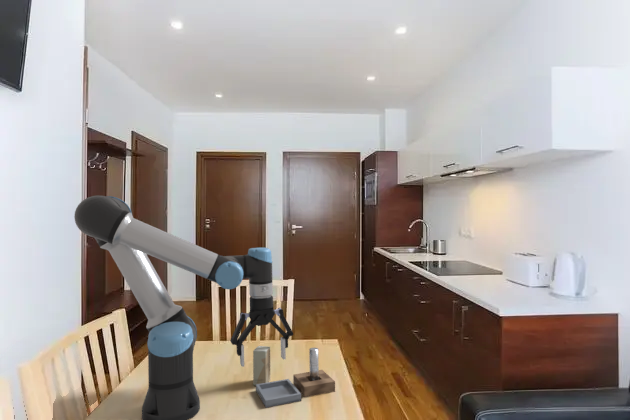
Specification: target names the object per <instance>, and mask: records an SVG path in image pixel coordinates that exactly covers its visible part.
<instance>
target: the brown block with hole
mask: <svg viewBox="0 0 630 420" xmlns="http://www.w3.org/2000/svg"><path fill="white" fill-rule="evenodd" d="M292 377H293V379H292V381H293V382H292V384H293V385H294V386H295V387H296V388H297V390H298V391H299V392H300V393H301V396H303V397H304V398H306V397H308V398H309V397H312V396H313V397H314V396H317V395H322V394H328V393H333V392H332V391H334V392H335V391H336V381H335V380H334V379H333V378H332V377H331V376H330V375H329V374H327V372H326V371H325V370H323V369H319V380H315V381H310V371H308V372H301V373H295V374H293V376H292Z"/></svg>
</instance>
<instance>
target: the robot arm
mask: <svg viewBox="0 0 630 420" xmlns="http://www.w3.org/2000/svg"><path fill="white" fill-rule="evenodd" d="M73 217H74V222H75V225H76V227H77V228H78V230H79V231H80V232H81V233H82V234H84V235H86V236H88V237H91V238H93V239H95V241H96V243H97V245H98V246H99V248H100V249H103V250H106V251H108V252H109V254H110V255H111V258H112V259H113V261H114V263H115V265H116V266H117V268H118V270H119V271H120V273H121V275H122V276H123V278H124V280H125V282H126V283H127V286H128V287H129V289H130V291H131V292H132V294H133V296H134V297H135V299H136V301H137V302H138V305H139V307H140V308H141V309H142V312H143V313H144V315H145V317H146V318H147V323H146V326H145V327H146V329H147V331H148V337H147V338H148V339H147V356H148V357H147V360H148V361H147V362H148V363H147V364H148V366H147V369H148V376H147V377H148V389H147V391H146V394H145V396H144V397H145V398H144V401H143V404H142V407H141V420H191V419H192V418H193V417H195V416H196V415H198V413H199V412H200V409H201V400H200V399H201V398H200V396H199V393H198V390H197V389H196V388H197V387H196V385H195V383H194V355H193V354H194V349H195V345H196V342H197V341H196V340H197V337H198V330H197V326H196V324H195V322H194V321H193V319H192V318H191V317H189V316H188V315H187V313H186V311H185V309H184V308H183V306H181V305H178V304H176V303H174V300H173V299H172V297H171V296H170V294H169V292H168V290H167V287H165V285H164V283H163V281H162V279H161V277H160V275H159V274H158V273H157V271H156V269H155V266H154V265H153V264H152V262H151V260H150V258H149V256H151V257H154V258H156V259H158V260H160V261H163V262H165V263H168V264H170V265H172V266H175V267H178V268H179V269H182V270H184V271H187V272H190V273H192V274H193V275H198V276H200V277H202V278H204V279H206V280H209V281H211V282H213V283H216V284H217V285H218V286H219V287H221V288H222V289H225V290H233V289H236V288H237V287H239V286H240V285H241V283H242V281H243V280H246V279H248V280H249V281H248V285H249V287H248V288H249V289H248V290H249V296H250V297H249V312H248V313H246V312H245V313H244V312H240V313H239V320H238V322H237V325H236V326H235V330H234V331H233V333H232V336H231V338H230V343H231V345H233V346H236V355H237V357H239V363H240V364H239V365H240V366H241V367H242V368H245V345H244V344H243V343H244V342H245V340H246V339H247V338H248V336H249V335H250V333H251V332H252V330H253V329H255V328H256V326H258V327H261V326H268V324H270V325H272V326H273V328H275V330H276V331H277V332H278V333H279V334H280V335H281V337H280V358H281V359H282V360H286V359H287V358H286V357H287V356H286V349H288V348H289V338H290V337H293V336H294V332H293V330H292V329H291V326H290V324H289V323H288V321H287V319H286V317H285V314H284V309H282V308H281V307H278V308H276V309H274V296H273V293H274V290H273V289H274V288H273V286H274V285H273V259H272V258H273V257H272V250H271V249H270V248H268V247H251V248H248V250H247V254H244V255H241V254H240V255H226V256H225V255H224V256H223V255H220V254H218V253H216V252H213V251H211V250H208V249H206V248H204V247H202V246H199V245H197V244H194V243H193V242H190V241H187V240H185V239H183V238H182V237H181V238H180V237H178V236H176V235H174V234H171V233H169V232H167V231H165V230H162V229H160V228H157V227H155V226H153V225H150V224H148V223H145V222H144V221H141V220H139V219H137V218H134V216H133V213H132V209H131V207H130V206H129V204H127V203H126V202H125V201H124V200H123V199H121V198H118V197H117V196H116V197H115V196H110V195H107V196H105V195H92V196H89V197H86V198H83V200H82V201H80V202H79V204H78V205H77V207H76V208H75V211H74V216H73ZM275 315H276V316H277V317H278V318H279V319H280V321H281V323H282V325H283V327H284V329H285V330H283V329H282V327H280V325H278V323H277V322H276V321H275V320H274V319H273V317H274V316H275ZM248 318H249V319H250V321H249V322H248V324H247V326H246V327H245V328H244V329H243V327H244V326H245V322H246V321H247V320H248ZM242 330H243V332H242ZM285 331H286V332H285Z"/></svg>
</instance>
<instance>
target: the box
mask: <svg viewBox="0 0 630 420" xmlns="http://www.w3.org/2000/svg"><path fill="white" fill-rule="evenodd" d="M252 360H253V361H252V362H253V363H252V365H253V366H252V368H253V369H252V371H253V373H252V375H253V377H252V379H253V381H252V382H253V383H252V384H253V386H256V384H261V383H267V382H271V346H265V345H264V346H263V345H258V346H256V347H255V348H254V349H253V350H252Z"/></svg>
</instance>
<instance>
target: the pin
mask: <svg viewBox="0 0 630 420" xmlns="http://www.w3.org/2000/svg"><path fill="white" fill-rule="evenodd" d="M308 350H309V351H308V352H309V372H310V381H315V380H319V370H320V369H319V348H318V347H310V348H309V349H308Z"/></svg>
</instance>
